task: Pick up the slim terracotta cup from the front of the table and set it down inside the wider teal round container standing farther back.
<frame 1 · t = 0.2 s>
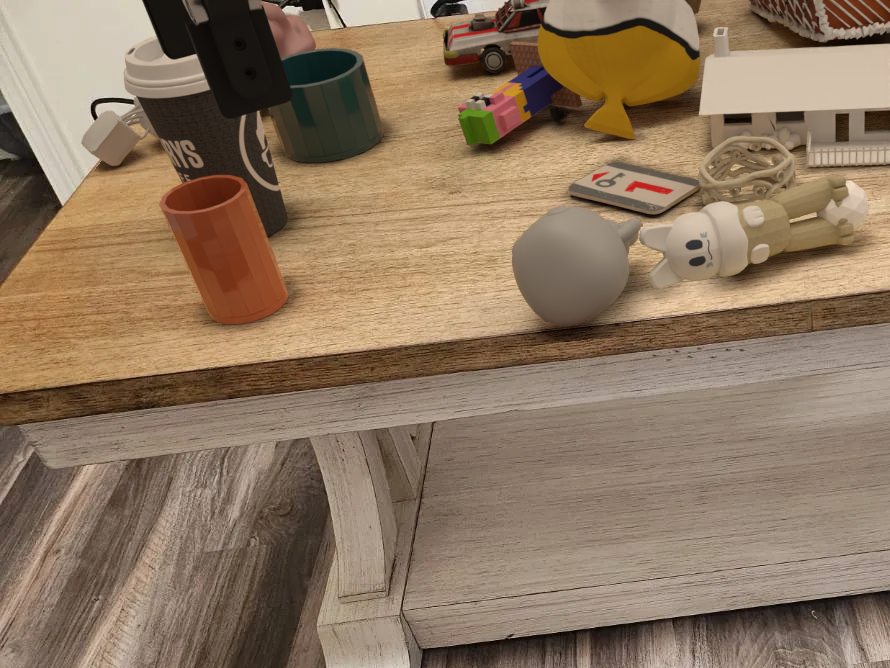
hand: (226, 78, 52), 24 cm above the table, tool pointing down, fingers open, 9 cm apart
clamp: (202, 139, 112), on the table
figurine 3: (549, 72, 108), point 3 cm above the table
figurine: (276, 87, 119), on the table
teal round container: (334, 141, 107), on the table
rabbit figurine: (855, 197, 87), point 2 cm above the table
toy: (639, 79, 106), point 3 cm above the table, touching fish
bracelet: (734, 157, 94), point 2 cm above the table
coffee cup: (250, 228, 95), on the table
toy car: (531, 57, 120), on the table
house: (844, 125, 102), on the table, touching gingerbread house
fish: (539, 10, 101), point 10 cm above the table, touching toy
figurine 2: (622, 237, 85), point 2 cm above the table
cup: (248, 303, 86), on the table
token: (682, 199, 92), on the table
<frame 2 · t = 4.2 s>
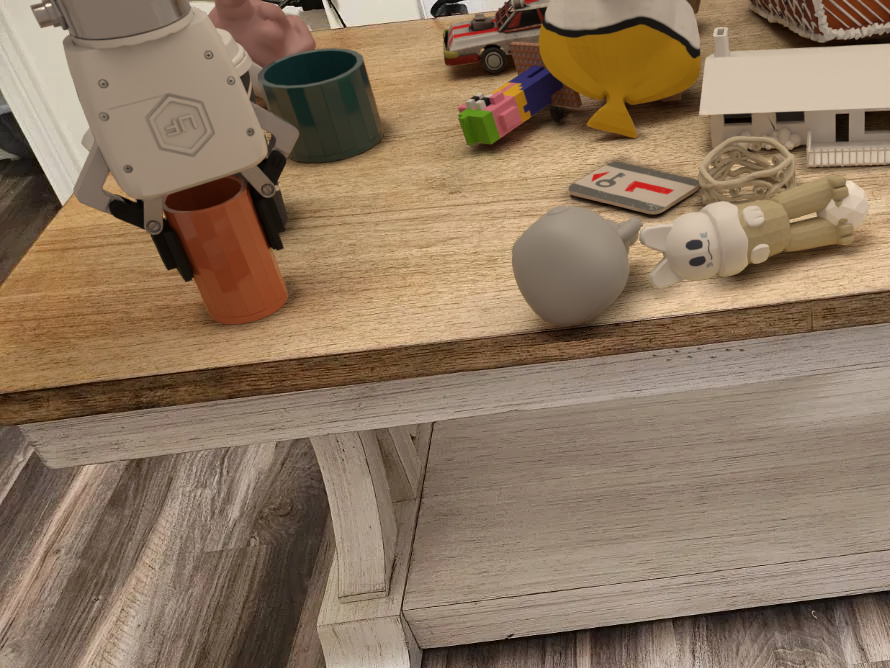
hand: (229, 256, 83), 4 cm above the table, tool pointing down, fingers closed on cup, 6 cm apart
figurine 3: (549, 72, 108), point 3 cm above the table, touching fish
fish: (540, 10, 101), point 10 cm above the table, touching figurine 3, toy
cup: (248, 303, 86), on the table, touching gripper
everything else where it was.
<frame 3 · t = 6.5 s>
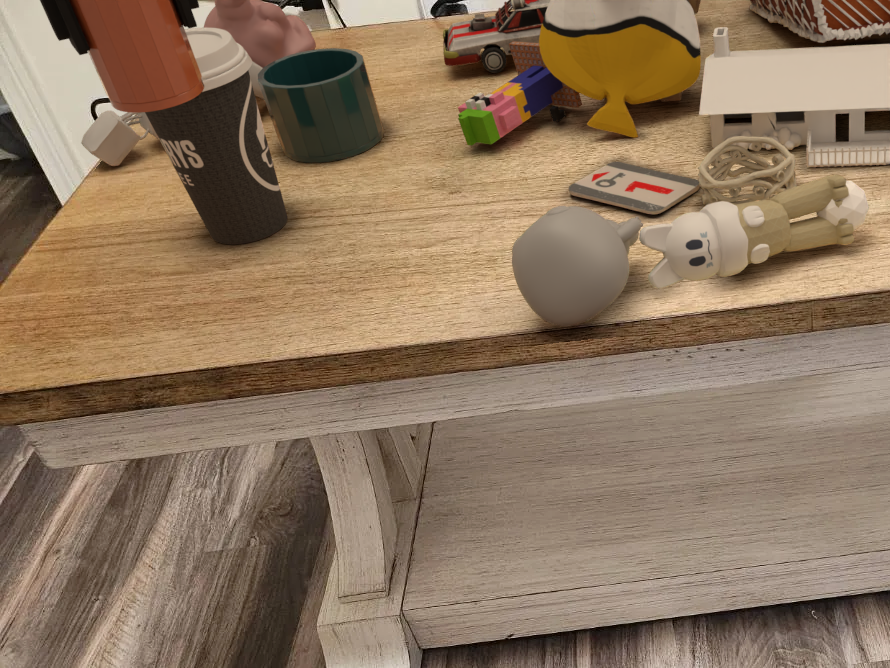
hand: (133, 32, 72), 20 cm above the table, tool pointing down, fingers closed on cup, 6 cm apart
cup: (158, 94, 75), point 16 cm above the table, touching gripper
everything else where it was.
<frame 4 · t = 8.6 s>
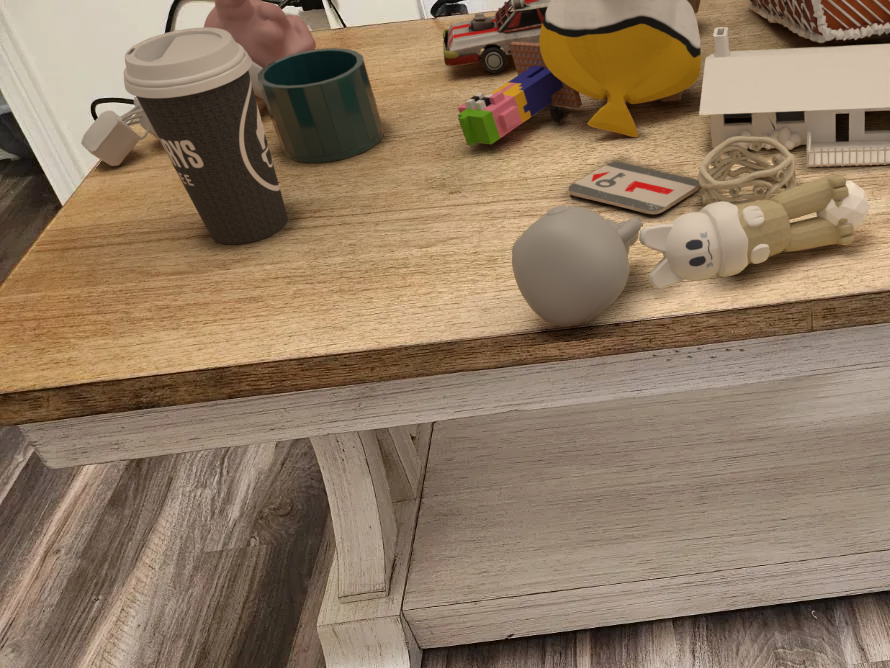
figurine 3: (549, 72, 108), point 3 cm above the table
fish: (541, 10, 101), point 10 cm above the table, touching toy
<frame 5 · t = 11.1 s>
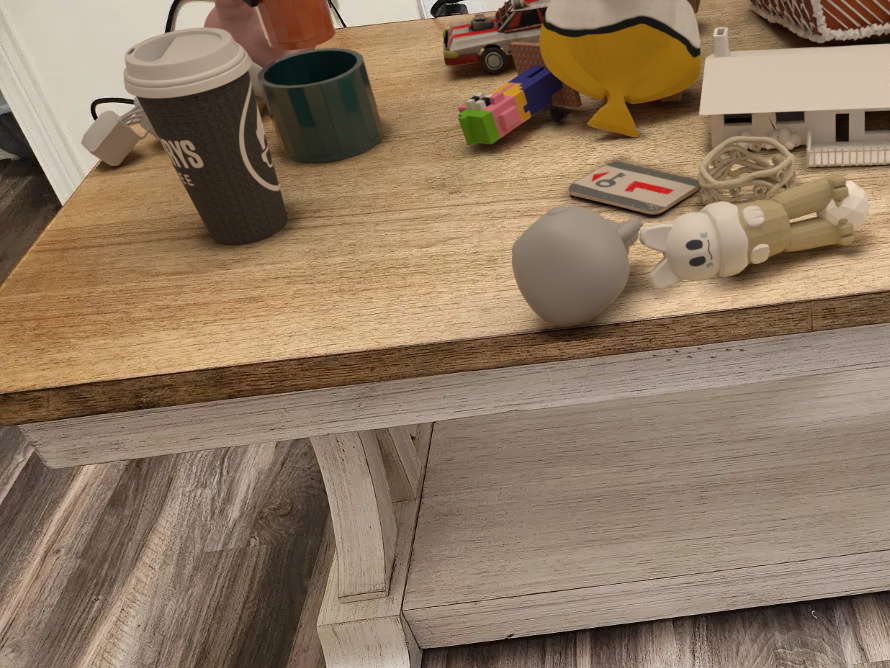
figurine 3: (549, 72, 108), point 3 cm above the table, touching fish
fish: (541, 10, 101), point 10 cm above the table, touching figurine 3, toy
cup: (302, 38, 101), point 10 cm above the table, touching gripper
everything else where it was.
when the fingers open (7 cm above the table, at t = 13.3 s): cup drops 3 cm, resting on teal round container.
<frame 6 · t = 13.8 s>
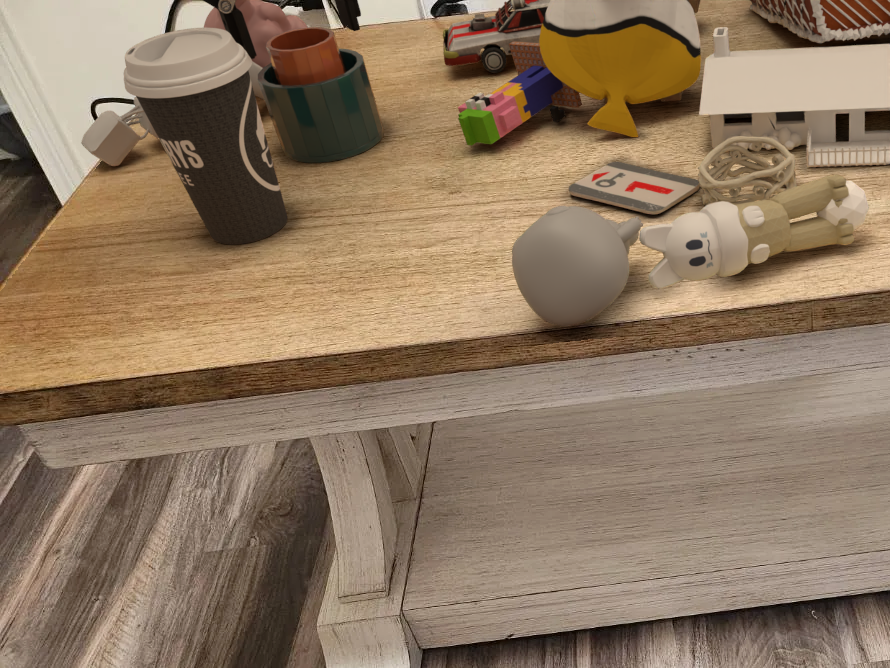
hand: (300, 40, 101), 9 cm above the table, tool pointing down, fingers open, 9 cm apart
cup: (330, 135, 107), point 1 cm above the table, touching teal round container
everything else where it was.
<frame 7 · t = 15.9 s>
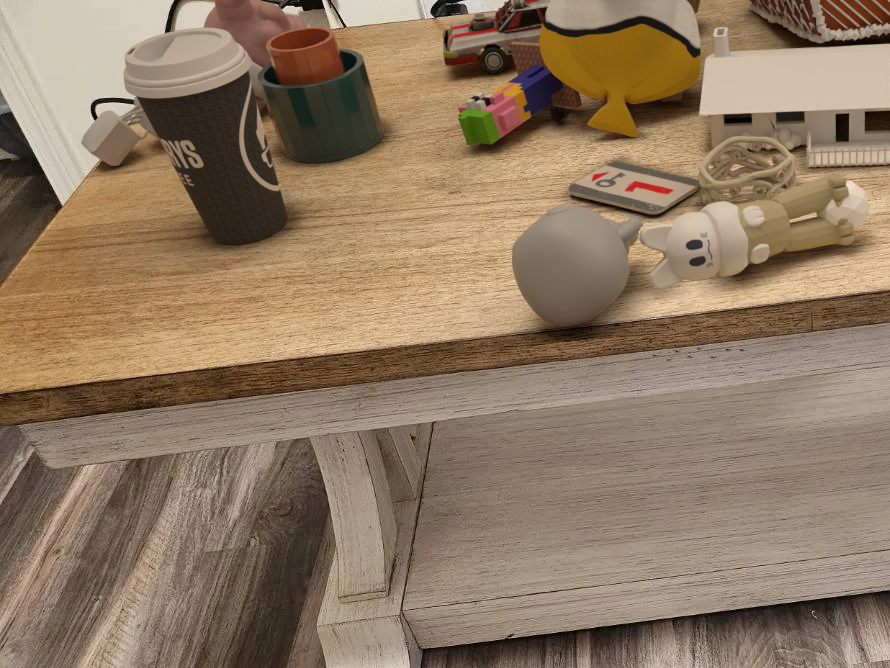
figurine 3: (549, 72, 108), point 3 cm above the table
fish: (541, 10, 101), point 10 cm above the table, touching toy
everything else where it was.
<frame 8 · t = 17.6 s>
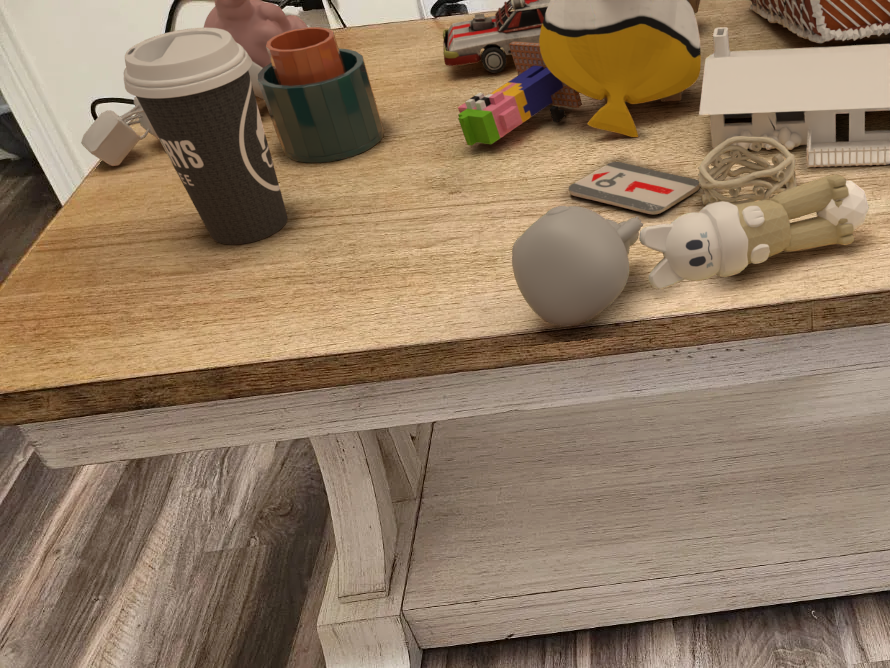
figurine 3: (549, 72, 108), point 3 cm above the table, touching fish
fish: (540, 10, 101), point 10 cm above the table, touching figurine 3, toy
everything else where it was.
at the end: cup 0.1 cm off-centre in the teal round container, point 0.6 cm above the teal round container's base; cup tilted 0° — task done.
